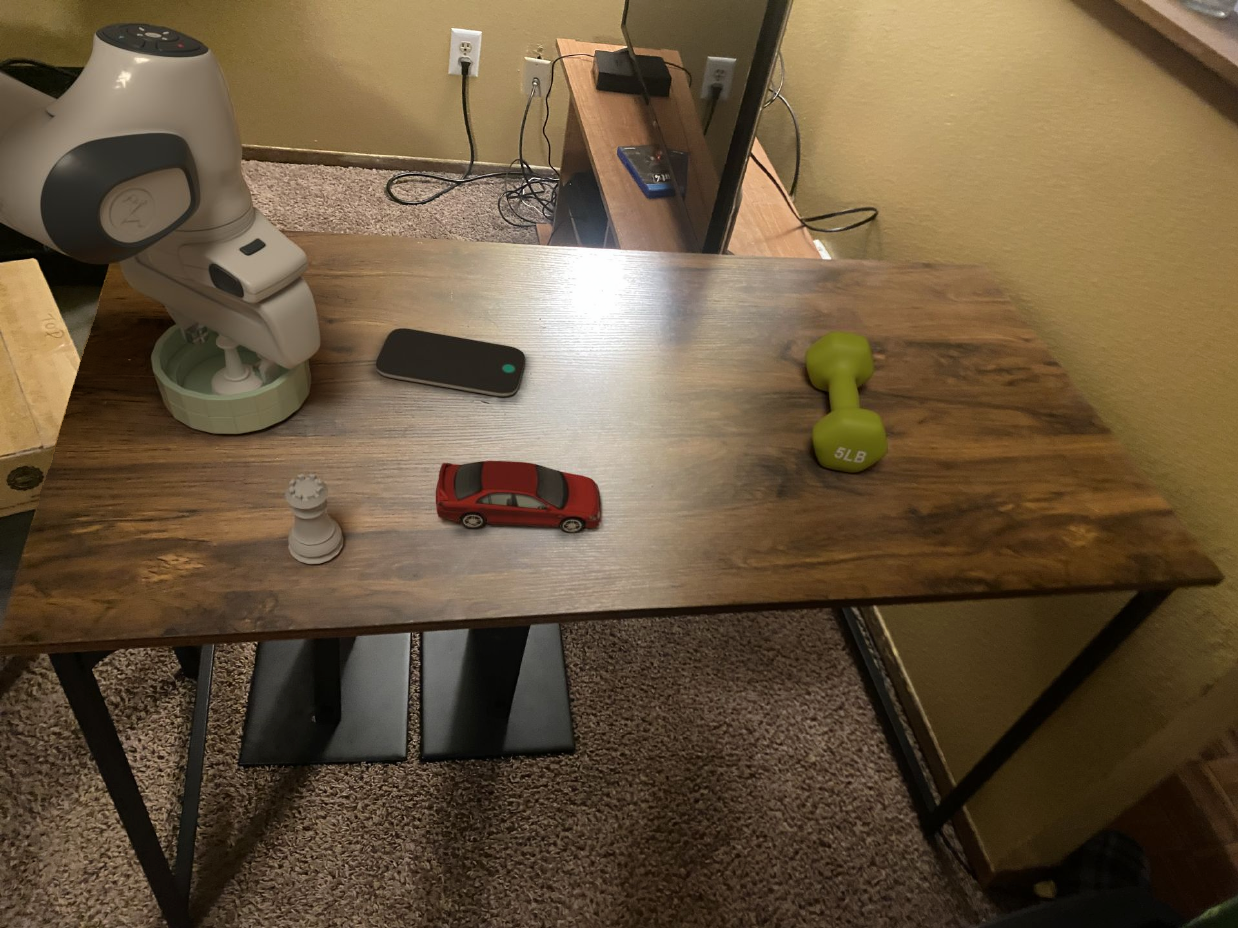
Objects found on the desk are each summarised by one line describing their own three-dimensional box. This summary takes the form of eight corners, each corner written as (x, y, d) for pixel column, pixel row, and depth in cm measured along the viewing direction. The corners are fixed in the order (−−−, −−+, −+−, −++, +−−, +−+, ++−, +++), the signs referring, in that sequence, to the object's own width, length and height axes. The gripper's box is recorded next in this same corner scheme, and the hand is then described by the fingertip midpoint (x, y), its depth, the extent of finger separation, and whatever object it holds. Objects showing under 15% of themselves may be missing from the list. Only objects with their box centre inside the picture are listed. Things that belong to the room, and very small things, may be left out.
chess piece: (256, 405, 81) (237, 323, 74) (204, 399, 80) (179, 315, 73) (272, 372, 84) (256, 290, 77) (222, 365, 84) (200, 283, 76)
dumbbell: (875, 484, 87) (902, 436, 82) (800, 470, 87) (823, 421, 82) (861, 382, 98) (884, 334, 93) (795, 369, 98) (815, 320, 93)
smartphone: (515, 394, 87) (371, 369, 86) (515, 400, 87) (372, 375, 87) (527, 348, 92) (391, 324, 91) (527, 354, 92) (392, 331, 92)
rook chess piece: (286, 530, 72) (272, 469, 66) (340, 521, 74) (331, 460, 68) (292, 572, 70) (277, 511, 64) (347, 561, 71) (338, 501, 65)
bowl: (173, 451, 76) (159, 412, 73) (157, 358, 84) (144, 318, 80) (324, 422, 81) (318, 384, 78) (297, 337, 89) (290, 299, 85)
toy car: (441, 481, 79) (440, 445, 75) (599, 496, 80) (606, 461, 77) (432, 527, 75) (431, 491, 71) (598, 541, 76) (605, 507, 73)
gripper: (77, 202, 70) (123, 332, 80) (267, 296, 65) (291, 422, 75) (140, 174, 74) (176, 301, 84) (323, 261, 70) (338, 384, 80)
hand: (232, 359), depth 80 cm, fingers open, 7 cm apart
